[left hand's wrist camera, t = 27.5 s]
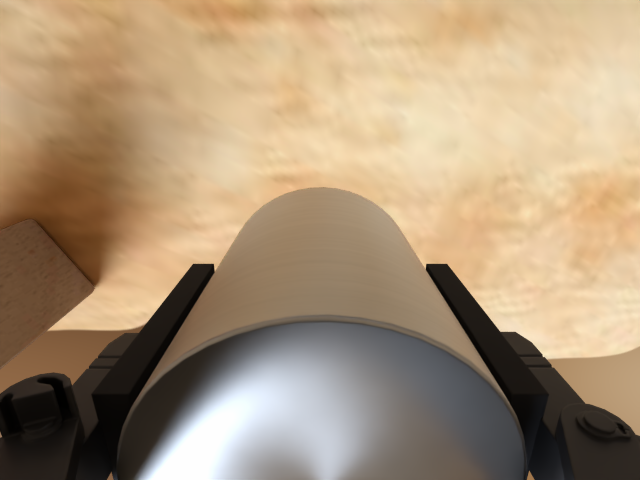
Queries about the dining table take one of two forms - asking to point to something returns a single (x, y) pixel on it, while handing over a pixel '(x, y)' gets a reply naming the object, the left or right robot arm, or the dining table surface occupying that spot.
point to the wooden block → (34, 286)
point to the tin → (321, 364)
